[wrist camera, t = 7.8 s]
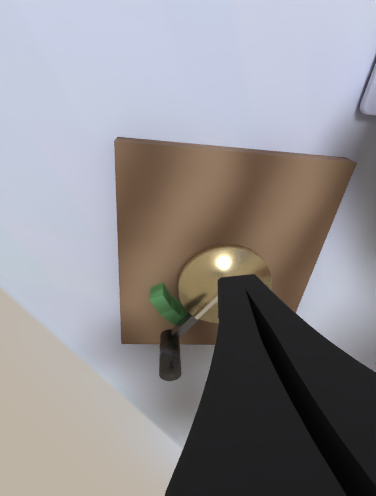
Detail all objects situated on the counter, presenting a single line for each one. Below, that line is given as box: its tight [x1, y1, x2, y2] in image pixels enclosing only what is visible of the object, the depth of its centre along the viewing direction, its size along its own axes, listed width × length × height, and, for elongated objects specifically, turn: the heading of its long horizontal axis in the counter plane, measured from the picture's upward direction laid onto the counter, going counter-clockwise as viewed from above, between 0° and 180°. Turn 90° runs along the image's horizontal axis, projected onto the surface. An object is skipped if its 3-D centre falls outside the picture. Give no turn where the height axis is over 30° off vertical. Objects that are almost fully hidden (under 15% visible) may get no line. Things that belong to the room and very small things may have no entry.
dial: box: [159, 244, 272, 381], centre depth 17 cm, size 10×6×3 cm, turn 142°
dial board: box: [114, 137, 357, 345], centre depth 19 cm, size 14×16×3 cm
